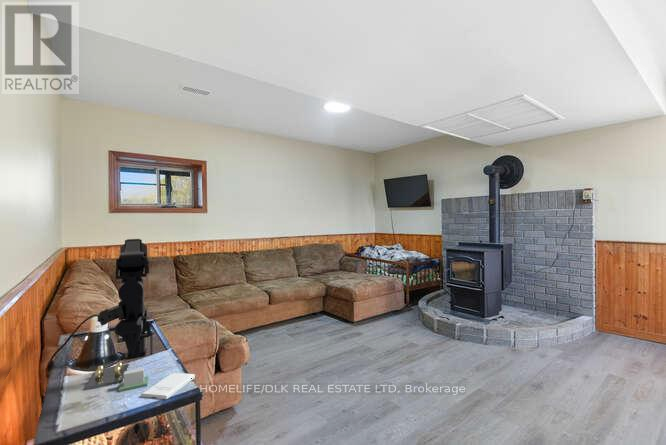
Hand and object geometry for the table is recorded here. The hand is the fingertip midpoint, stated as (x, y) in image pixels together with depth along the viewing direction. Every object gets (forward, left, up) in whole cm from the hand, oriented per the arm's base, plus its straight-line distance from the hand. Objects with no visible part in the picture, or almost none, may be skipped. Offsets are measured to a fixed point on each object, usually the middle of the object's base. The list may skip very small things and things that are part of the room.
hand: (133, 347), depth 95 cm
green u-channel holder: (0, 0, -11) cm, 11 cm away
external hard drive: (+6, +10, -12) cm, 16 cm away
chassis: (-10, -8, -11) cm, 17 cm away
